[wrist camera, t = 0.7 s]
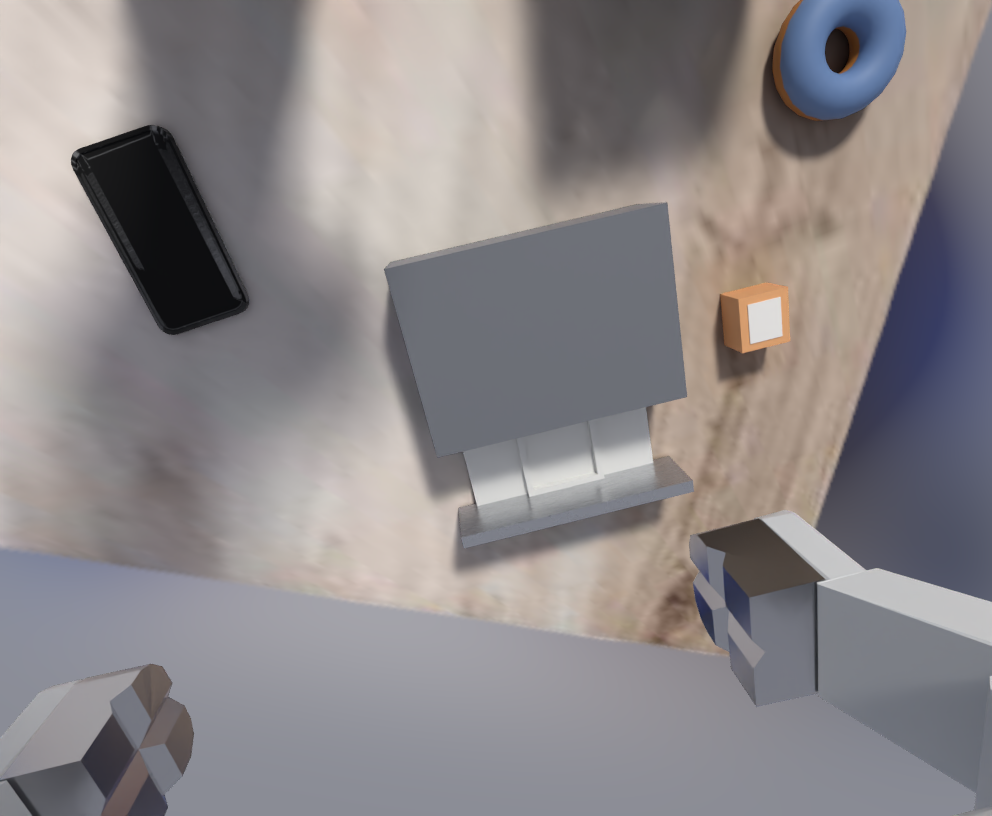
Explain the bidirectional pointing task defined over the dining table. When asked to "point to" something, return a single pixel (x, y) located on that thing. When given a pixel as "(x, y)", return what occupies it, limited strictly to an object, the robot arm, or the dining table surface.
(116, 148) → the phone
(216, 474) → the dining table surface
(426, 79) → the dining table surface
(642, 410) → the tray
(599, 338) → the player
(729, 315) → the block
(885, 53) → the doughnut
